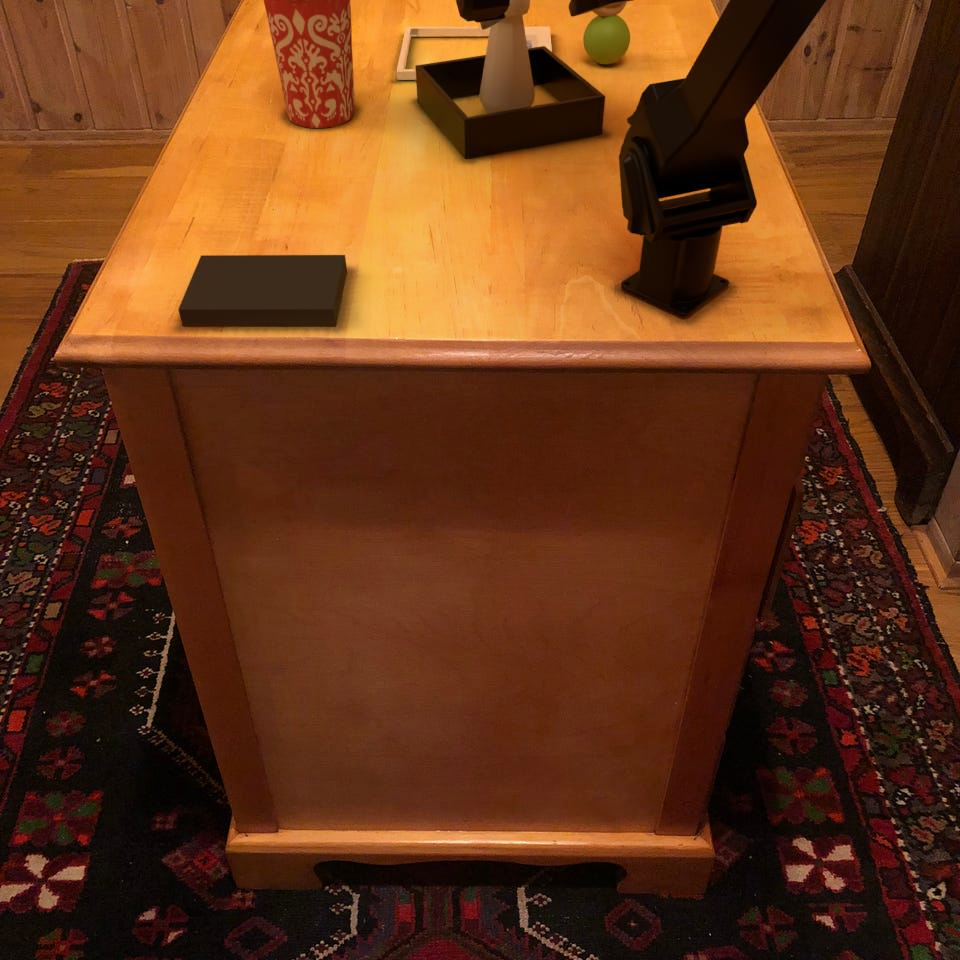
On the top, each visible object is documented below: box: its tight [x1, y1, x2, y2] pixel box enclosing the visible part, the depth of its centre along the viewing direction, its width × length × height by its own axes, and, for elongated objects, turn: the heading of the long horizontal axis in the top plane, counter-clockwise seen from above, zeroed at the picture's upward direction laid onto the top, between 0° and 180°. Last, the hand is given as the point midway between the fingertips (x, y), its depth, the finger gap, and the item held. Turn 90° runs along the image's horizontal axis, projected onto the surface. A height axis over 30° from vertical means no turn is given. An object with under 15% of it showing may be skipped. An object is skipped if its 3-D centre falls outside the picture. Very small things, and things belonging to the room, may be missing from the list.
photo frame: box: [396, 26, 553, 81], centre depth 114 cm, size 15×1×18 cm
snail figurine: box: [582, 2, 631, 65], centre depth 108 cm, size 5×6×12 cm
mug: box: [263, 0, 356, 129], centre depth 99 cm, size 13×9×14 cm
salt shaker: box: [478, 0, 536, 114], centre depth 97 cm, size 6×6×13 cm
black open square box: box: [415, 46, 606, 160], centre depth 100 cm, size 15×15×4 cm
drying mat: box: [178, 254, 348, 327], centre depth 76 cm, size 8×12×2 cm, turn 90°
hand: (527, 17), depth 90 cm, fingers open, 9 cm apart
